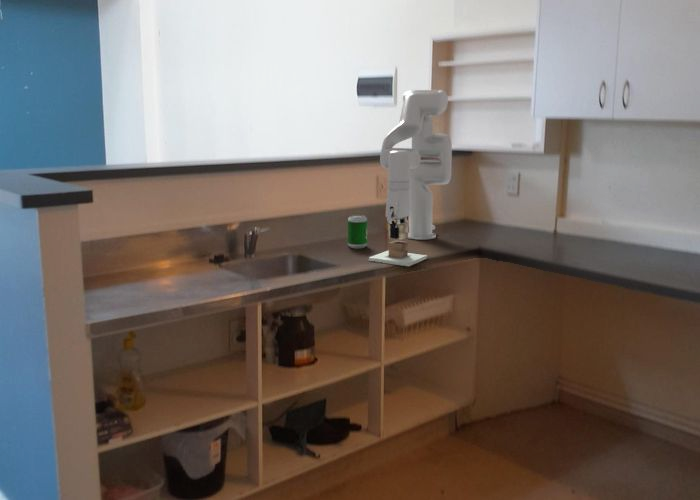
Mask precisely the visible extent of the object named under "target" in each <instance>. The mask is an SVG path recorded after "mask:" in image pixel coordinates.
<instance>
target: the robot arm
mask: <svg viewBox="0 0 700 500" xmlns="http://www.w3.org/2000/svg"><path fill="white" fill-rule="evenodd" d="M402 96H403V97H402V101H403V103H402V107H401V114H400V119H399V124H397V126H394V128H392V129H391V130H390V131H389V132H388V133H387V135H386V136H385V138H384V139H383V141H382V146H381V149H380V150H381V151H380V157H379V161H380V162H379V163H380V166H381V167H382V168H383V169H386V170H388V171H387V173H388V177H387V179H388V184H387V186H388V187H387V195H386V202H385V218H386V221H387V222H388V227H389V226H390V238H393V239H392V240H398V238H399V228H398V223H406V224H408V238H407V239H409V240H421V241H423V240H425V241H426V240H434V239H436V238H437V237H436V233H434V232H433V230H435V229H436V225H434V224H433V219H434V218H433V213H434V210H433V207H434V205H433V204H434V194H433V192H432V189H430V187H429V186H428V185H437V186H438V185H441V186H443V185H447V184H449V183H450V182H451V180H452V179H451V178H452V163H453V162H452V159H453V158H452V157H453V153H452V152H453V151H452V149H453V147H452V139H451V137H450V135H448V134H446V133H435V132H434V120H433V118H432V116H440V115H442V114H443V113H444V112H445V111H446V110H447V108H448V105H449V97H448V94H447V92H446V91H445V90H443V89H412V90H407V91H406V92H404V93H403V95H402ZM409 139H411V148H400V147H394V146H396V145H397V144H399V143H401V142H403V141H406V140H409ZM422 158H437V159H439V160H428V159H427V160H426V159H425V160H423V159H422ZM408 221H409V223H408ZM389 224H390V225H389Z"/></svg>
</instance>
